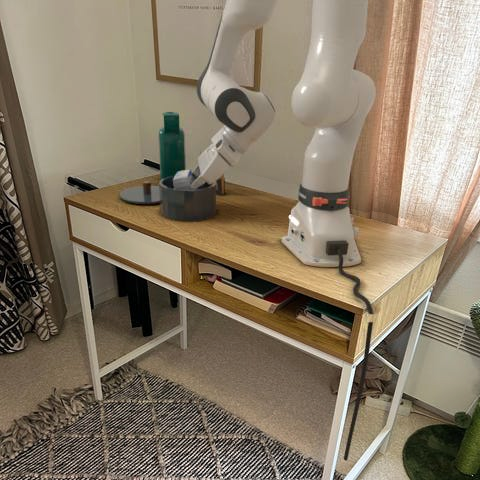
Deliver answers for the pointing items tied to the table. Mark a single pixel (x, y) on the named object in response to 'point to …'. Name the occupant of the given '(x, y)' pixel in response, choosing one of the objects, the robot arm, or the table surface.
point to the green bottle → (171, 146)
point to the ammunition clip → (219, 183)
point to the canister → (187, 201)
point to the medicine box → (183, 180)
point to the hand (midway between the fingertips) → (191, 183)
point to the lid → (141, 194)
